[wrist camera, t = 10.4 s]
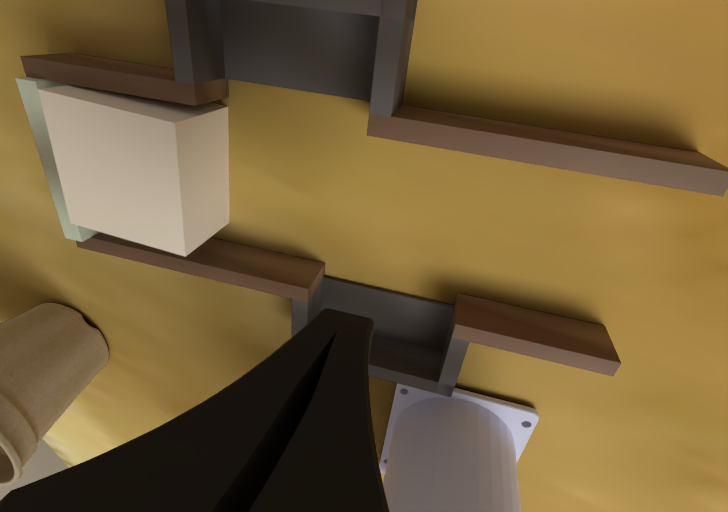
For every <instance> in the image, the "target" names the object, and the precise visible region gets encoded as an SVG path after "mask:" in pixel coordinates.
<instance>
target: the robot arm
mask: <svg viewBox="0 0 728 512" xmlns="http://www.w3.org/2000/svg"><path fill="white" fill-rule="evenodd" d="M373 329H374V322H373V320H372V319H371V318H368V317H363V316H359V315H355V314H351V313H346V312H342V311H338V310H334V309H330V308H325V309H323V310H321V311H320V312H319V313H318V314H317V315H316V316H315V317H314V318H313V319H312V320H311V321H310V322H309V323H308V324H307V325H305V326H304V327H303V328H302V329H301V330H300V331H299V332H298V333H296V334H295V335H294V336H293V337H292V338H291V339H290V340H288V341H287V342H286V343H285V344H283V345H282V346H281V347H280V348H279V349H277V350H276V351H275V352H274V353H273V354H271V355H270V356H269V357H267V358H266V359H265V360H264V361H262V362H261V363H259V364H258V365H257V366H255V367H254V368H253V369H251V370H250V371H249V372H247V373H246V374H245V375H243V376H242V377H240V378H239V379H238V380H236V381H235V382H233V383H232V384H230V385H229V386H227V387H226V388H224V389H223V390H221V391H220V392H218V393H217V394H215V395H213V396H212V397H210V398H208V399H207V400H205V401H204V402H202V403H200V404H199V405H197V406H195V407H193V408H192V409H190V410H188V411H186V412H185V413H183V414H181V415H179V416H178V417H176V418H174V419H172V420H171V421H169V422H167V423H165V424H163V425H161V426H159V427H157V428H155V429H153V430H151V431H150V432H147V433H145V434H143V435H141V436H139V437H137V438H135V439H133V440H131V441H129V442H126V443H124V444H122V445H120V446H118V447H116V448H114V449H112V450H110V451H108V452H106V453H103V454H101V455H99V456H97V457H94V458H92V459H90V460H88V461H85V462H83V463H80V464H78V465H75V466H73V467H70V468H68V469H65V470H63V471H60V472H58V473H55V474H53V475H50V476H48V477H45V478H43V479H40V480H38V481H35V482H33V483H30V484H28V485H25V486H22V487H20V488H17V489H14V490H12V491H10V492H9V493H8V494H7V495H6V496H5V497H4V498H3V499H2V500H1V501H0V512H521V504H520V494H519V483H518V473H517V461H518V459H519V457H520V455H521V453H522V451H523V450H524V448H525V446H526V444H527V442H528V440H529V438H530V436H531V434H532V432H533V430H534V428H535V426H536V424H537V422H538V420H539V416H538V412H537V411H536V410H535V409H533V408H531V407H527V406H523V405H519V404H515V403H512V402H508V401H504V400H500V399H496V398H492V397H488V396H485V395H481V394H477V393H473V392H469V391H465V390H462V389H458V388H454V390H453V393H452V396H451V397H447V396H443V395H440V394H436V393H432V392H428V391H424V390H421V389H417V388H413V387H409V386H406V385H402V384H398V383H397V386H396V390H395V395H394V400H393V404H392V409H391V413H390V418H389V423H388V427H387V432H386V437H385V441H384V446H383V450H382V455H381V460H380V464H379V463H378V457H377V452H376V446H375V440H374V433H373V426H372V418H371V408H370V398H369V378H368V363H369V356H370V350H371V343H372V336H373ZM402 388H403V389H402ZM404 389H407V390H404ZM524 421H528V422H524ZM380 472H381V473H383V474H385V475H384V480H383V483H382V478H381V473H380Z"/></svg>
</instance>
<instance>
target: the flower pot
mask: <svg viewBox="0 0 728 512" xmlns="http://www.w3.org/2000/svg"><path fill="white" fill-rule="evenodd" d="M108 358H109V350H108V347H107V344H106V341H105V339H104V337H103V336H102V334H101V333H100V331H99V330H98V329H96V328H93V327H91V326H89V325H88V324H87V323H86V322H85V321H84V319H83V316H82V314H80V313H79V312H77V311H75V310H73V309H71V308H69V307H67V306H64V305H61V304H56V303H43V304H40V305H38V306H36V307H34V308H32V309H30V310H28V311H26V312H24V313H22V314H20V315H18V316H16V317H14V318H11V319H9V320H7V321H5V322H3V323H1V324H0V486H3V487H4V486H11V485H14V484H15V483H16V482H17V481H18V480H19V479H20V478H21V476H22V474H23V466H24V465H25V464H26V462H27V461H28V460H29V459H30V458H31V457H32V455H33V454H34V452H35V451H36V448H37V444H38V442H39V440H41V439H42V437H43V436H44V435H45V434H46V433H47V431H48V430H49V429H50V428H51V427H52V425H53V424H54V423H55V422H56V421H57V420H58V418H59V417H60V416H61V415H62V414H63V413H64V411H65V410H66V409H67V408H68V407H69V406H70V404H71V403H72V402H73V401H74V400H75V399H76V397H77V396H78V395H79V394H80V393H81V392H82V390H83V389H84V388H85V387H86V386H87V385H88V384H89V382H90V381H91V380H92V379H93V378H94V377H95V376H96V375H97V373H98V372H99V371H100V370H101V369H102V368H103V367H104V366H105V364H106V363H107V361H108Z"/></svg>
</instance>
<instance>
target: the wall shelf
mask: <svg viewBox="0 0 728 512" xmlns="http://www.w3.org/2000/svg"><path fill="white" fill-rule="evenodd" d="M165 2H166V10H167V18H168V26H169V34H170V42H171V50H172V58H173V67H174V69H169V68H163V67H157V66H150V65H144V64H138V63H131V62H125V61H119V60H112V59H106V58H100V57H93V56H87V55H81V54H75V53H64V54H47V55H31V56H20V57H21V60H22V63H23V67H24V70H25V73H26V77H21V78H15V79H16V82H17V85H18V89H19V92H20V95H21V98H22V101H23V104H24V108H25V111H26V114H27V117H28V120H29V124H30V127H31V130H32V133H33V136H34V140H35V143H36V146H37V149H38V152H39V155H40V159H41V162H42V165H43V168H44V171H45V175H46V178H47V181H48V184H49V187H50V191H51V194H52V197H53V200H54V203H55V206H56V210H57V213H58V216H59V219H60V222H61V226H62V229H63V232H64V235H65V238H67V239H72V240H76V243H77V247H80V248H84V249H88V250H92V251H96V252H100V253H105V254H109V255H113V256H117V257H121V258H125V259H129V260H134V261H138V262H142V263H146V264H150V265H154V266H158V267H162V268H167V269H171V270H175V271H179V272H183V273H187V274H191V275H196V276H200V277H204V278H208V279H212V280H216V281H220V282H225V283H229V284H233V285H237V286H241V287H245V288H249V289H254V290H258V291H262V292H266V293H270V294H274V295H278V296H282V297H287V298H291V299H292V337H293V336H294V335H295V334H296V333H298V332H299V331H300V330H301V329H302V328H303V327H304V326H305V325H307V324H308V323H309V322H310V321H311V320H312V319H313V318H314V317H315V316H316V315H317V314H318V313H319V312H320V311H321V310H323V309H325V308H330V309H334V310H338V311H342V312H346V313H351V314H355V315H359V316H363V317H368V318H371V319H372V320H373V322H374V329H373V336H372V343H371V350H370V356H369V363H368V376H371V377H375V378H379V379H383V380H387V381H390V382H394V383H398V384H402V385H406V386H409V387H413V388H417V389H421V390H424V391H428V392H432V393H436V394H440V395H443V396H447V397H451V396H452V393H453V390H454V387H455V384H456V381H457V378H458V375H459V372H460V369H461V366H462V363H463V360H464V356H465V353H466V350H467V347H468V344H469V342H473V343H477V344H481V345H485V346H489V347H493V348H498V349H502V350H506V351H510V352H514V353H518V354H522V355H527V356H531V357H535V358H539V359H543V360H547V361H551V362H556V363H560V364H564V365H568V366H572V367H576V368H580V369H584V370H589V371H593V372H597V373H601V374H605V375H609V376H614V374H615V373H616V371H617V369H618V368H619V366H620V364H621V362H620V359H619V357H618V355H617V352H616V350H615V348H614V346H613V343H612V341H611V339H610V336H609V334H608V332H607V329H606V327H605V326H602V325H598V324H593V323H589V322H584V321H580V320H575V319H571V318H566V317H562V316H558V315H553V314H549V313H544V312H540V311H535V310H531V309H526V308H522V307H518V306H513V305H509V304H504V303H500V302H495V301H491V300H486V299H482V298H477V297H473V296H469V295H464V294H460V293H458V294H457V298H456V301H455V305H449V304H445V303H441V302H436V301H432V300H427V299H423V298H419V297H414V296H410V295H406V294H401V293H397V292H393V291H388V290H384V289H380V288H375V287H371V286H366V285H362V284H358V283H353V282H349V281H345V280H340V279H336V278H332V277H327V276H324V272H325V263H322V262H317V261H313V260H308V259H304V258H299V257H295V256H291V255H286V254H282V253H277V252H273V251H268V250H264V249H259V248H255V247H250V246H246V245H242V244H237V243H233V242H228V241H224V240H219V239H215V238H209V239H208V240H206V241H205V242H204V243H203V244H201V245H200V246H199V247H197V248H196V249H195V250H194V251H192V252H191V253H190V254H188V255H187V256H186V257H185V256H181V255H178V254H174V253H171V252H167V251H164V250H161V249H157V248H154V247H150V246H147V245H143V244H140V243H136V242H133V241H130V240H126V239H123V238H119V237H116V236H112V235H109V234H105V233H102V232H99V231H95V230H92V229H88V228H85V227H81V226H78V225H75V224H71V223H70V219H69V215H68V211H67V207H66V203H65V199H64V194H63V190H62V186H61V182H60V178H59V174H58V170H57V166H56V162H55V158H54V154H53V149H52V145H51V141H50V137H49V133H48V129H47V125H46V121H45V117H44V113H43V108H42V104H41V100H40V96H39V92H38V89H43V88H50V87H58V86H65V85H77V86H83V87H88V88H94V89H100V90H106V91H112V92H117V93H123V94H129V95H135V96H141V97H147V98H152V99H158V100H164V101H170V102H176V103H181V104H187V105H193V106H198V105H202V104H205V103H209V102H212V101H216V100H220V99H223V98H227V97H229V91H228V79H233V80H240V81H246V82H252V83H259V84H265V85H271V86H278V87H284V88H290V89H297V90H303V91H309V92H315V93H322V94H328V95H334V96H341V97H347V98H353V99H360V100H366V101H371V102H370V111H369V120H368V129H367V135H368V136H373V137H379V138H385V139H391V140H397V141H402V142H408V143H414V144H420V145H426V146H432V147H437V148H443V149H449V150H455V151H461V152H466V153H472V154H478V155H484V156H490V157H496V158H501V159H507V160H513V161H519V162H525V163H530V164H536V165H542V166H548V167H554V168H560V169H565V170H571V171H577V172H583V173H589V174H594V175H600V176H606V177H612V178H618V179H624V180H629V181H635V182H641V183H647V184H653V185H658V186H664V187H670V188H676V189H682V190H688V191H693V192H699V193H705V194H711V195H717V196H722V197H723V195H724V194H725V192H726V190H727V189H728V168H727V167H725V166H723V165H722V164H720V163H718V162H716V161H714V160H713V159H711V158H709V157H707V156H705V155H703V154H702V153H700V152H694V151H688V150H681V149H675V148H669V147H662V146H656V145H650V144H643V143H637V142H631V141H624V140H618V139H612V138H605V137H599V136H593V135H587V134H580V133H574V132H568V131H561V130H555V129H549V128H542V127H536V126H530V125H523V124H517V123H511V122H504V121H498V120H492V119H485V118H479V117H473V116H466V115H460V114H454V113H447V112H441V111H435V110H428V109H422V108H416V107H410V106H403V105H402V100H403V94H404V87H405V80H406V74H407V67H408V60H409V53H410V47H411V40H412V33H413V26H414V20H415V13H416V6H417V0H165Z"/></svg>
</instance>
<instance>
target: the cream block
mask: <svg viewBox="0 0 728 512" xmlns="http://www.w3.org/2000/svg"><path fill="white" fill-rule="evenodd" d="M38 92H39V96H40V100H41V104H42V108H43V113H44V117H45V121H46V125H47V129H48V133H49V137H50V141H51V145H52V149H53V154H54V158H55V162H56V166H57V170H58V174H59V178H60V182H61V186H62V190H63V194H64V199H65V203H66V207H67V211H68V215H69V219H70V223H71V224H75V225H78V226H81V227H85V228H88V229H92V230H95V231H99V232H102V233H105V234H109V235H112V236H116V237H119V238H123V239H126V240H130V241H133V242H136V243H140V244H143V245H147V246H150V247H154V248H157V249H161V250H164V251H167V252H171V253H174V254H178V255H181V256H185V257H186V256H187V255H188V254H190V253H191V252H192V251H194V250H195V249H196V248H197V247H199V246H200V245H201V244H203V243H204V242H205V241H206V240H208V239H209V238H210V237H212V236H213V235H214V234H215V233H217V232H218V231H219V230H220V229H222V228H223V227H224V226H226V225H227V224H228V223H229V141H228V107H227V106H223V105H219V104H215V103H211V102H209V103H205V104H202V105H198V106H193V105H187V104H181V103H176V102H170V101H164V100H158V99H152V98H147V97H141V96H135V95H129V94H123V93H117V92H112V91H106V90H100V89H94V88H88V87H83V86H77V85H65V86H58V87H50V88H43V89H38Z"/></svg>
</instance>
